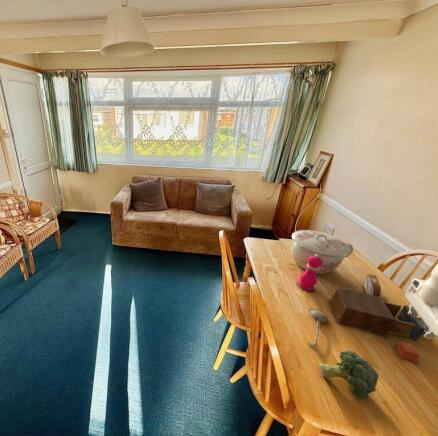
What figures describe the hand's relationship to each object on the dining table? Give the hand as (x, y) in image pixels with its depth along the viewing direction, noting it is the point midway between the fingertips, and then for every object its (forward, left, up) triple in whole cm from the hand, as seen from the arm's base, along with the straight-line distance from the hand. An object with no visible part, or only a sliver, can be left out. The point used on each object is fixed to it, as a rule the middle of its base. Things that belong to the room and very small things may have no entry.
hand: (418, 326), depth 81 cm
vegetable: (+23, +22, -14) cm, 35 cm away
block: (-1, +1, -14) cm, 14 cm away
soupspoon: (+27, +1, -14) cm, 31 cm away
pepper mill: (+27, -27, -14) cm, 41 cm away
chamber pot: (+21, -49, -14) cm, 55 cm away
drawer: (-2, -13, -13) cm, 18 cm away
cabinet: (+10, -13, -14) cm, 21 cm away
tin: (-1, -34, -14) cm, 37 cm away
